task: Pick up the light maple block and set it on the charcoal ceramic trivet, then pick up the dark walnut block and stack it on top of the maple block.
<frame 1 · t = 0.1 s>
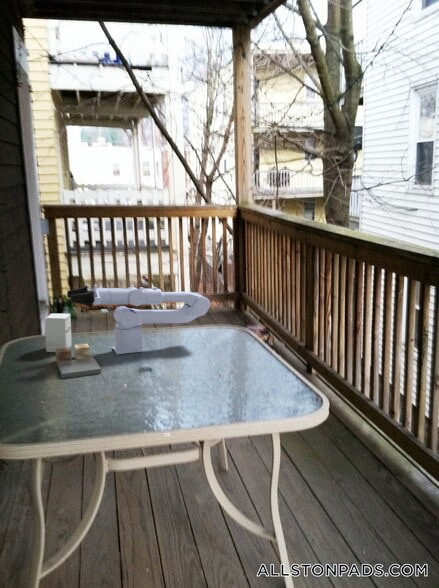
hand: (69, 296, 180), 22 cm above the table, tool horizontal, fingers open, 7 cm apart
trivet: (78, 369, 173), on the table
maple block: (82, 358, 184), on the table
walnut block: (63, 362, 179), on the table
supplement box: (59, 349, 193), on the table
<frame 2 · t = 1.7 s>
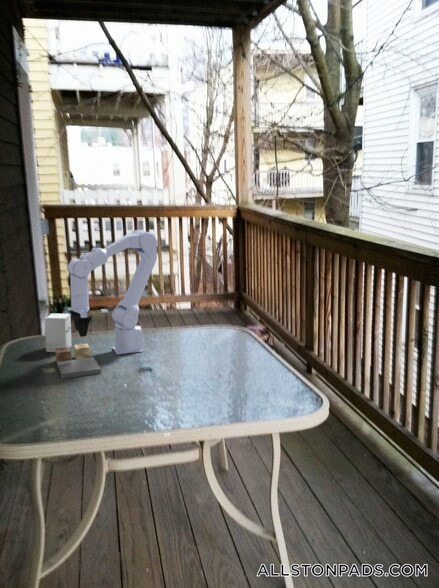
hand: (81, 333, 182), 9 cm above the table, tool pointing down, fingers open, 7 cm apart
nothing on the table moved.
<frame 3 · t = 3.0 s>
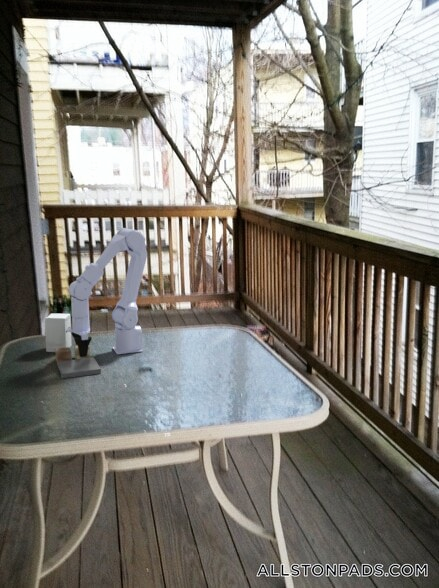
hand: (82, 354, 183), 1 cm above the table, tool pointing down, fingers closed on maple block, 4 cm apart
maple block: (82, 358, 184), on the table, touching gripper
everything else where it was.
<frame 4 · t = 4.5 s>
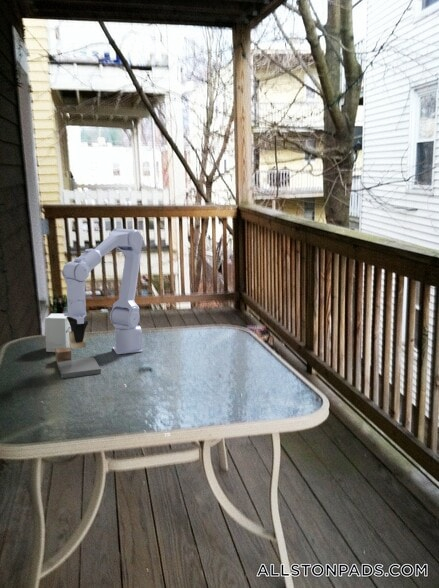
hand: (77, 339, 172), 10 cm above the table, tool pointing down, fingers closed on maple block, 4 cm apart
maple block: (77, 346, 173), point 7 cm above the table, touching gripper
everything else where it was.
when the fingers open (4 cm above the table, at t = 6.2 s): maple block stays where it is, resting on trivet.
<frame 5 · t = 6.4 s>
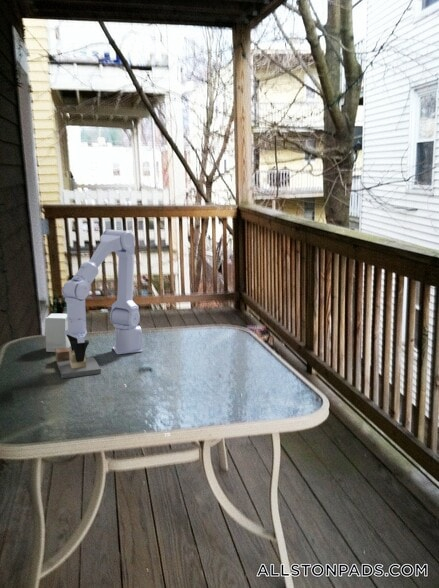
hand: (78, 358, 172), 4 cm above the table, tool pointing down, fingers open, 6 cm apart
maple block: (77, 365, 172), point 1 cm above the table, touching trivet
everything else where it was.
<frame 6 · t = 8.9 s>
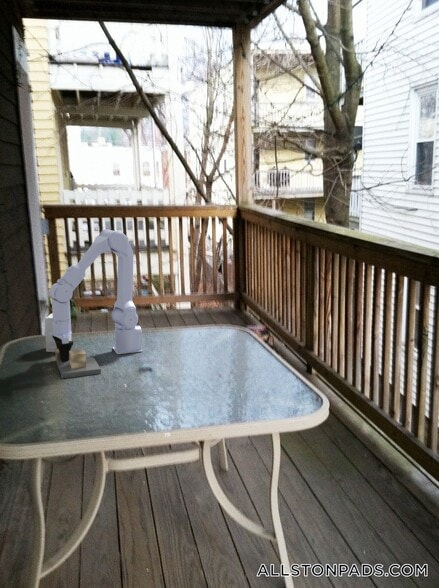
hand: (63, 358, 179), 1 cm above the table, tool pointing down, fingers open, 6 cm apart
nothing on the table moved.
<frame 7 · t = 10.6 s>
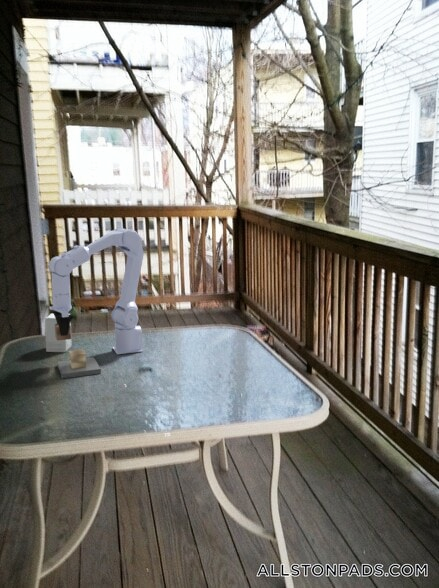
hand: (63, 333, 177), 10 cm above the table, tool pointing down, fingers closed on walnut block, 4 cm apart
walnut block: (63, 337, 177), point 9 cm above the table, touching gripper
everything else where it was.
when the fingers open (8 cm above the table, at t = 12.2 s): walnut block stays where it is, resting on maple block.
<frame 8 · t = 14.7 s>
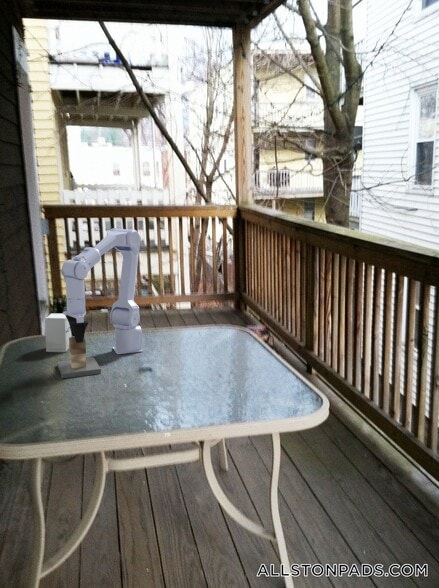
hand: (77, 339, 170), 10 cm above the table, tool pointing down, fingers open, 7 cm apart
maple block: (77, 365, 172), point 1 cm above the table, touching trivet, walnut block
walnut block: (77, 352, 171), point 6 cm above the table, touching maple block
everything else where it was.
at the end: maple block 0.2 cm off-centre on the trivet, point 1.5 cm above the trivet's base; walnut block 0.1 cm off-centre on the maple block, point 4.5 cm above the maple block's base; walnut block tilted 0° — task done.
